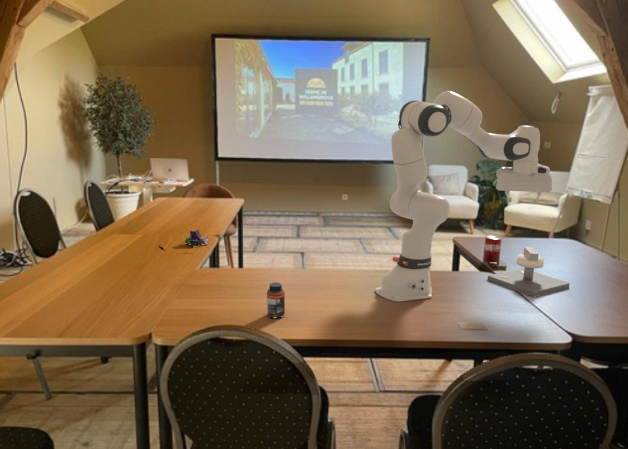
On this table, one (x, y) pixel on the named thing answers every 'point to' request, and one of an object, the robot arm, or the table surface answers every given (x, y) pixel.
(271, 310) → the supplement bottle
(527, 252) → the cap
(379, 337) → the table surface
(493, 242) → the soda can
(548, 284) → the lock base
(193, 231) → the mineral sample
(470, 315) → the table surface
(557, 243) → the table surface
